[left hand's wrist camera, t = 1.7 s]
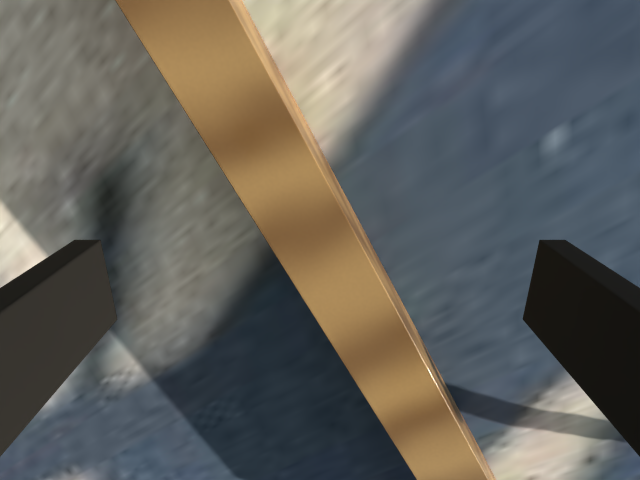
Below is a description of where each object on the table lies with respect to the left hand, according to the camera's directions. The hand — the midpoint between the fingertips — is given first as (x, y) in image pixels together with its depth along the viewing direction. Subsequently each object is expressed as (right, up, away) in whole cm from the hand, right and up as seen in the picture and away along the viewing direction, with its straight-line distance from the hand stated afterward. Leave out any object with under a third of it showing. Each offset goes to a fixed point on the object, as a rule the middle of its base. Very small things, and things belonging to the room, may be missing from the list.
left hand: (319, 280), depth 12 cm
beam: (+4, -4, +24) cm, 25 cm away
